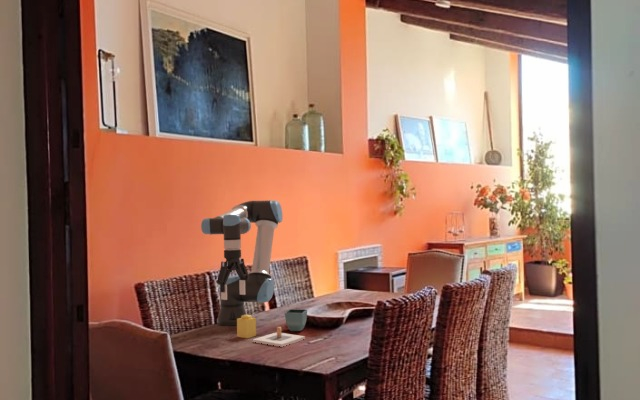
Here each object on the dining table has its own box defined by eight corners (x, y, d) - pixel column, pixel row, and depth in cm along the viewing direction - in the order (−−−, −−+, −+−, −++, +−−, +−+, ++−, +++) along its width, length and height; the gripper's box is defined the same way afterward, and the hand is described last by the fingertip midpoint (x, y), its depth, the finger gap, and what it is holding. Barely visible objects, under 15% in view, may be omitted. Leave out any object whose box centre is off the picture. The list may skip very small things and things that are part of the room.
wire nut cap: (246, 334, 267) (245, 313, 267) (256, 335, 263) (255, 315, 263) (237, 336, 262) (236, 316, 262) (247, 338, 258) (246, 317, 258)
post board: (276, 334, 264) (276, 322, 264) (305, 339, 255) (304, 326, 255) (253, 342, 251) (252, 328, 251) (282, 347, 242) (281, 333, 242)
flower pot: (284, 331, 270) (284, 312, 270) (290, 327, 278) (289, 308, 278) (303, 332, 268) (302, 313, 268) (307, 328, 276) (307, 309, 276)
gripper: (242, 246, 272) (243, 292, 272) (207, 251, 250) (208, 301, 250) (255, 246, 269) (256, 292, 269) (221, 252, 247) (223, 302, 247)
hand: (233, 297), depth 260 cm, fingers open, 13 cm apart
